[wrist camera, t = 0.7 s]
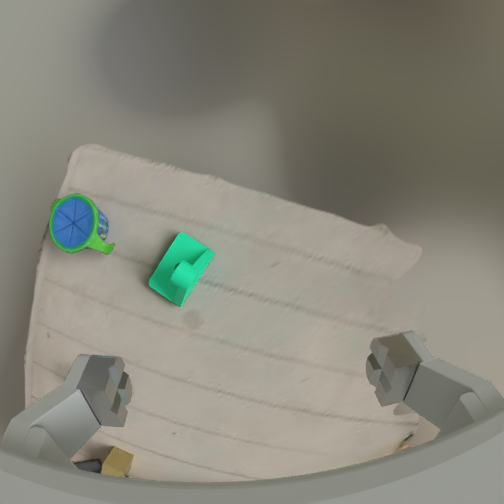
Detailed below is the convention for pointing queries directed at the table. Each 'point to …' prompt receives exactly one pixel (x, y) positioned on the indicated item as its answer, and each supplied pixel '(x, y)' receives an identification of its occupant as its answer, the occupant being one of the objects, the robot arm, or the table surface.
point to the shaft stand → (89, 466)
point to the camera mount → (180, 268)
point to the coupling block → (117, 463)
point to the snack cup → (78, 225)
